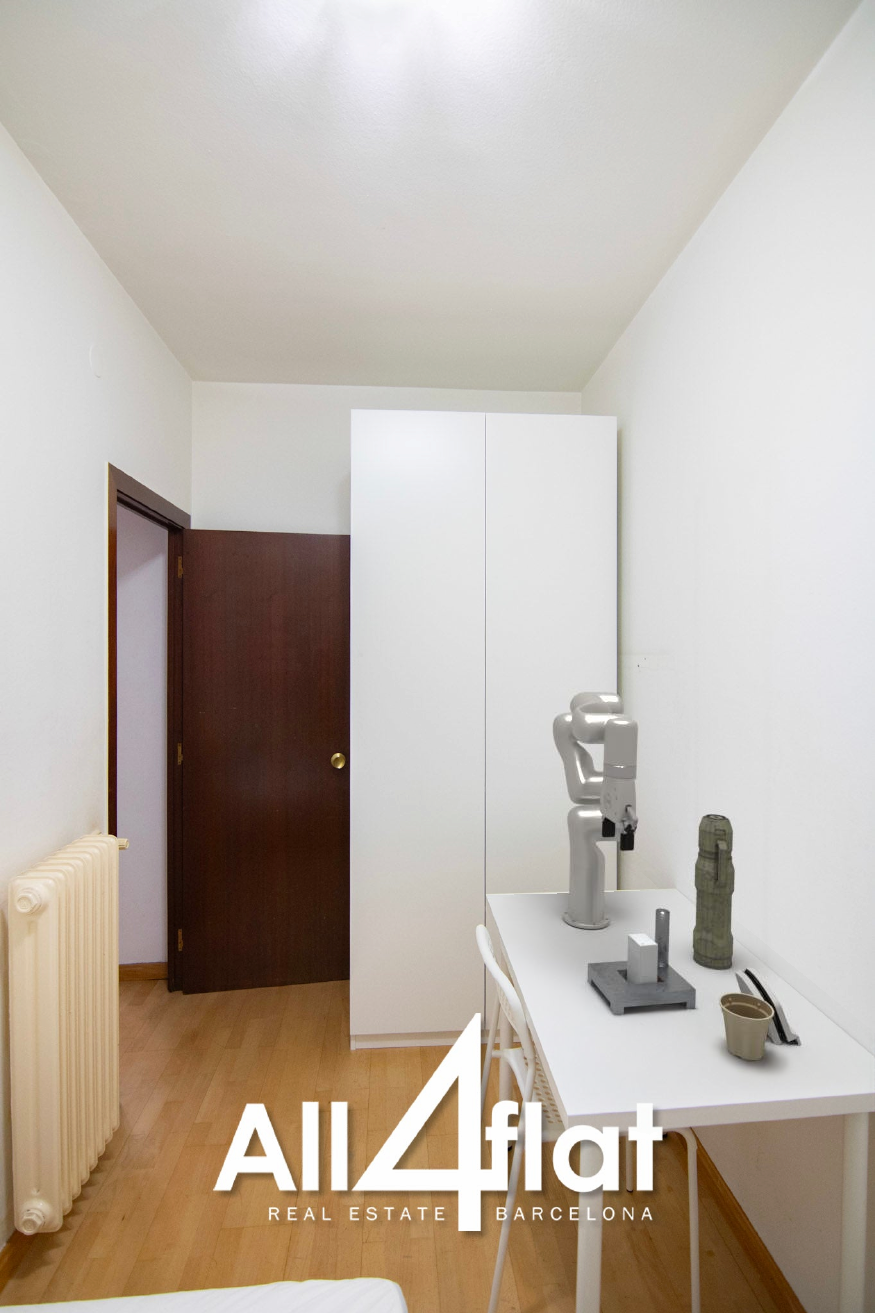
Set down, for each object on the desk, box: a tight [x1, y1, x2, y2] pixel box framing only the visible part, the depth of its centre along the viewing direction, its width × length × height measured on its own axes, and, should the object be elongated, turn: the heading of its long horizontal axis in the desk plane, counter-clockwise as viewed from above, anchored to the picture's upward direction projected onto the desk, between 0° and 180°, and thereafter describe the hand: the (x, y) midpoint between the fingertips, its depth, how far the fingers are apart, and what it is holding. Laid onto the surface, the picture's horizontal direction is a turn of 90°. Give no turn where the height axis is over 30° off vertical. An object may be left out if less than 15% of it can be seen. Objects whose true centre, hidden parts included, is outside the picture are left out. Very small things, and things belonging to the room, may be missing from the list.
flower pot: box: [718, 992, 774, 1061], centre depth 125 cm, size 9×9×9 cm
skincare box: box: [626, 933, 658, 985], centre depth 145 cm, size 6×4×12 cm
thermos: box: [692, 813, 736, 971], centre depth 161 cm, size 9×12×35 cm
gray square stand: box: [586, 907, 697, 1016], centre depth 145 cm, size 14×18×16 cm
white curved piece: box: [734, 967, 802, 1046], centre depth 135 cm, size 17×5×10 cm, turn 175°
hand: (617, 843), depth 157 cm, fingers open, 9 cm apart
